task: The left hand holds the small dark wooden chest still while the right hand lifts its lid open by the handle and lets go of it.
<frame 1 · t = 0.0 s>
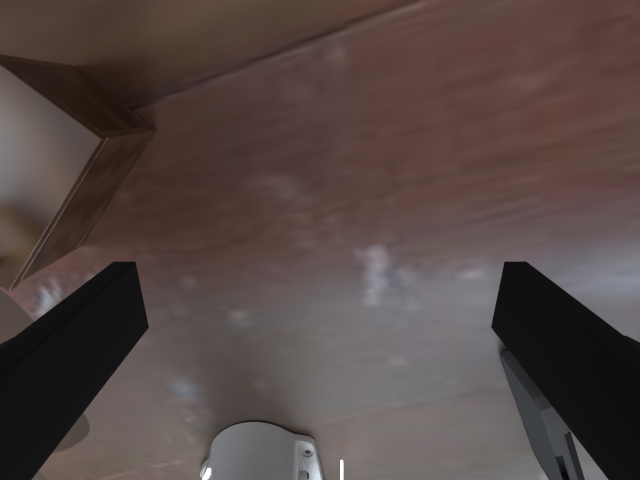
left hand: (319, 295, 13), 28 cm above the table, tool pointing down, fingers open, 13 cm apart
chest: (77, 164, 39), on the table
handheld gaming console: (525, 402, 51), on the table
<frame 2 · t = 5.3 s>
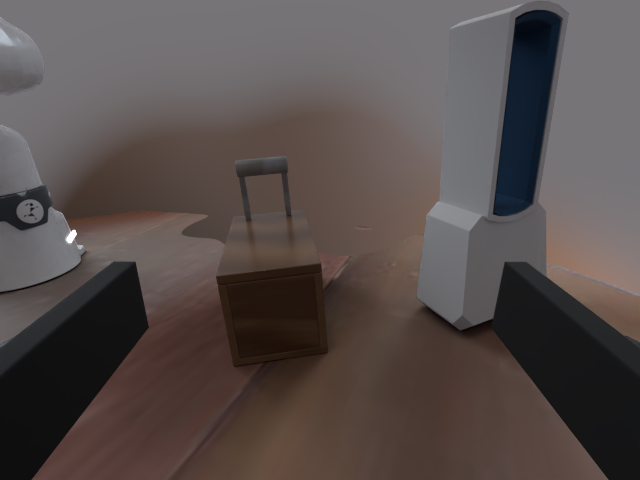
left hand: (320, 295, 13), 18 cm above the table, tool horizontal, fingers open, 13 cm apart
electronic device: (477, 307, 42), on the table
chest: (279, 312, 44), on the table
lid: (265, 206, 39), point 14 cm above the table, hinge at 0.0°
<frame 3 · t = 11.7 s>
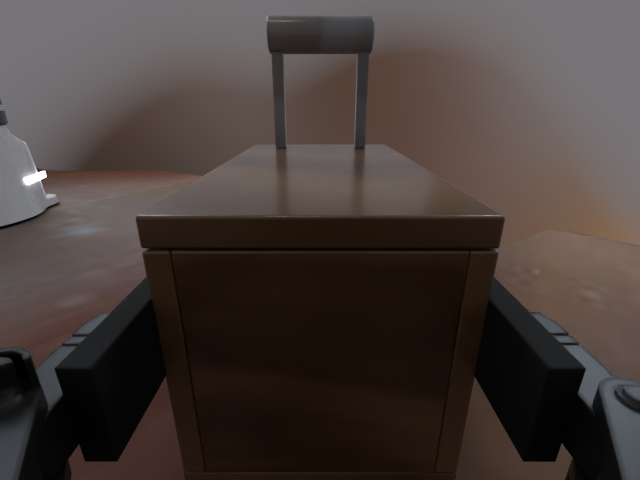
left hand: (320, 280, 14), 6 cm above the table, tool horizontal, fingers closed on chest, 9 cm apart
chest: (320, 338, 21), on the table, touching left hand
lid: (320, 88, 16), point 14 cm above the table, hinge at 0.0°
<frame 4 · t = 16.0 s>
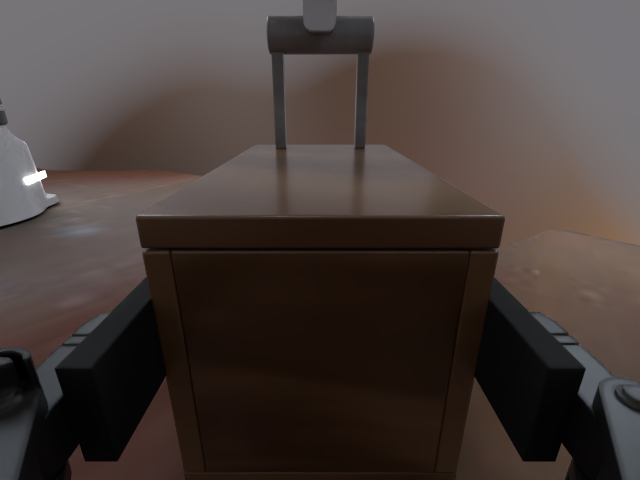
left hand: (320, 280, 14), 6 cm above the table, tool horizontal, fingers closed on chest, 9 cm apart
chest: (320, 338, 21), on the table, touching left hand
lid: (320, 88, 16), point 14 cm above the table, hinge at -0.1°, touching right hand
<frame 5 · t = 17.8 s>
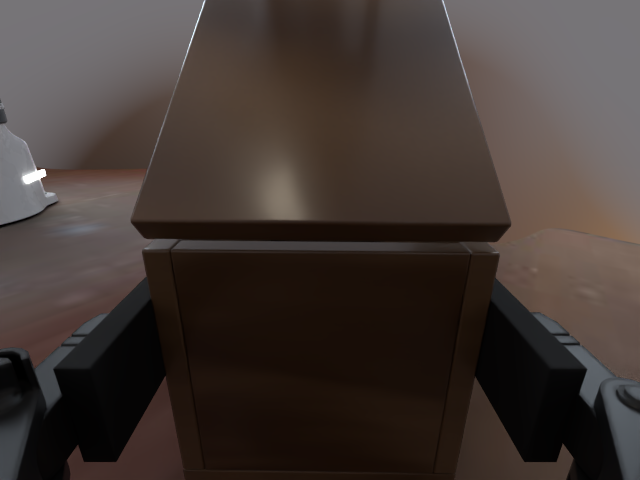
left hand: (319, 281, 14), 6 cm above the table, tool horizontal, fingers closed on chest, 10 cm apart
chest: (321, 337, 21), on the table, touching left hand
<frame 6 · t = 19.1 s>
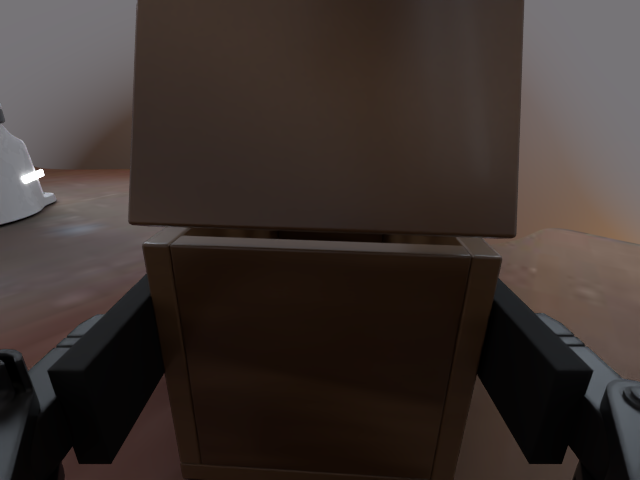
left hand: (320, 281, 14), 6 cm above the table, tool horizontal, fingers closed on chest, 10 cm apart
chest: (324, 337, 21), on the table, touching left hand
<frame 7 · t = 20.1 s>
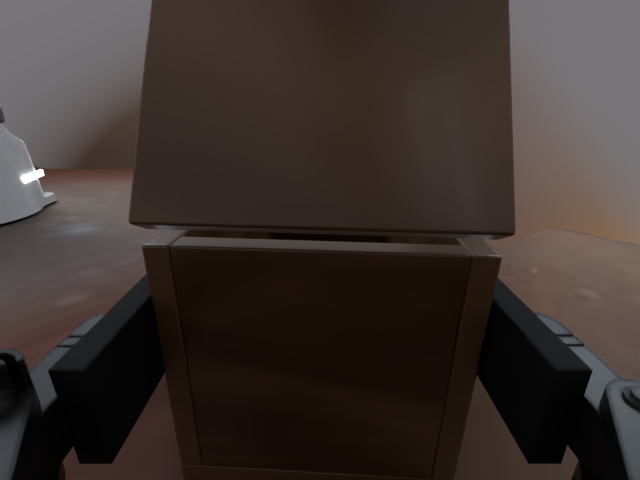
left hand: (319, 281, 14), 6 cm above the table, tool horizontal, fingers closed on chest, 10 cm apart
chest: (324, 337, 21), on the table, touching left hand
when the left hand's fingers open (6 cm above the table, at t = 23.6 s): chest stays where it is, on the table.
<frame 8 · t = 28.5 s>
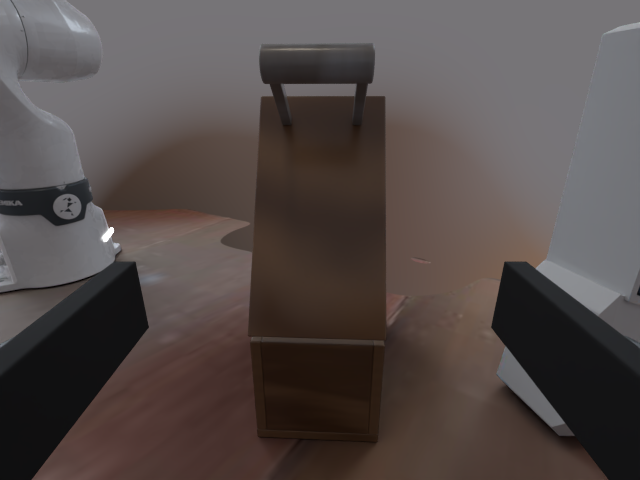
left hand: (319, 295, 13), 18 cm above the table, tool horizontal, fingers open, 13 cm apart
electronic device: (578, 400, 32), on the table
chest: (322, 364, 36), on the table
lid: (317, 198, 22), point 19 cm above the table, hinge at 60.4°
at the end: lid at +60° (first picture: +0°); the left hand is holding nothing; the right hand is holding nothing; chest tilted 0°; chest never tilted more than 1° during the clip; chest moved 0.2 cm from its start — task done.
